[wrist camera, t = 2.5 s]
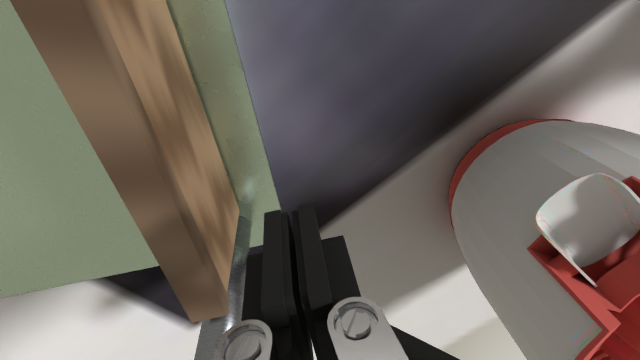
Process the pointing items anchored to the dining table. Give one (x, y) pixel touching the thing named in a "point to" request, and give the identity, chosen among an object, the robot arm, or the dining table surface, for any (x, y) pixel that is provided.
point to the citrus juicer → (555, 235)
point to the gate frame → (92, 179)
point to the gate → (146, 133)
